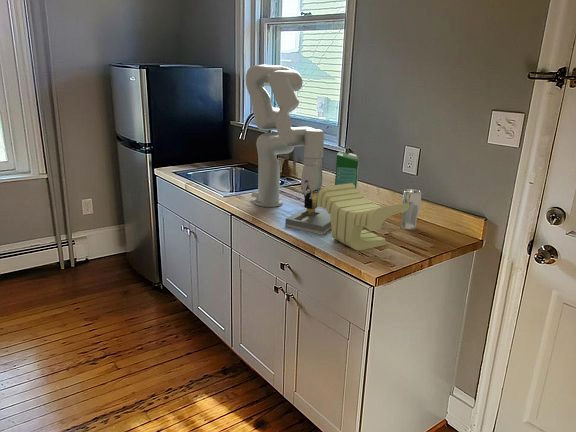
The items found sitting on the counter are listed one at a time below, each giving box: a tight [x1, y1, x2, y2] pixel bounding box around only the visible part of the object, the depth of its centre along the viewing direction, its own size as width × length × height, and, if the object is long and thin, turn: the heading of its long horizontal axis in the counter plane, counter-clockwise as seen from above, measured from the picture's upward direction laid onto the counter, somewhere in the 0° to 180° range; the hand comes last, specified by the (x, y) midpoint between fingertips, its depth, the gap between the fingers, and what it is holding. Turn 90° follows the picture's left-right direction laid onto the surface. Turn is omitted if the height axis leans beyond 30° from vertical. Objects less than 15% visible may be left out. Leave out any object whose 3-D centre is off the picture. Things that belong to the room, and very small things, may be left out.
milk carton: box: [334, 150, 360, 189], centre depth 207 cm, size 9×9×25 cm
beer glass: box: [400, 188, 422, 231], centre depth 187 cm, size 7×7×15 cm
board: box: [284, 208, 332, 235], centre depth 188 cm, size 16×16×3 cm
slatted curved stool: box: [317, 183, 409, 251], centre depth 169 cm, size 30×16×18 cm, turn 31°
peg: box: [306, 191, 318, 215], centre depth 191 cm, size 5×5×9 cm
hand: (311, 206), depth 191 cm, fingers closed on peg, 5 cm apart
